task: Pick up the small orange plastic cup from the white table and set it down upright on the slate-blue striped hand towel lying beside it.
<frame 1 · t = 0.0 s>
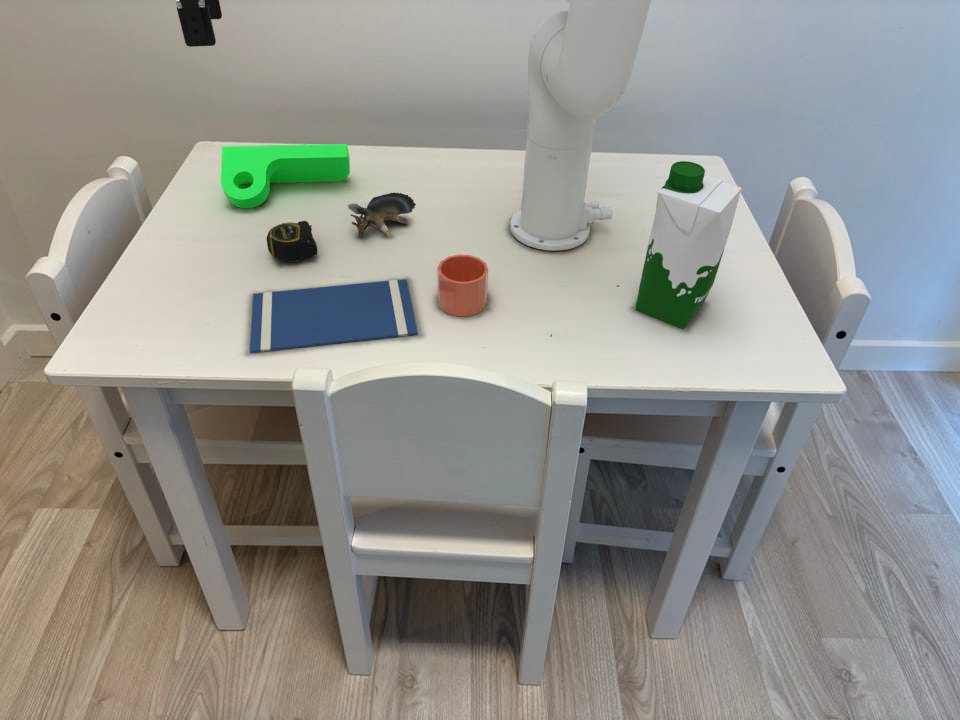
hand: (205, 31, 81), 31 cm above the table, tool pointing down, fingers open, 9 cm apart
orange plastic cup: (462, 301, 95), on the table
tape measure: (298, 253, 103), on the table
milk carton: (669, 308, 95), on the table
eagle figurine: (382, 231, 108), on the table
bracket: (291, 194, 115), on the table
towel: (333, 314, 92), on the table
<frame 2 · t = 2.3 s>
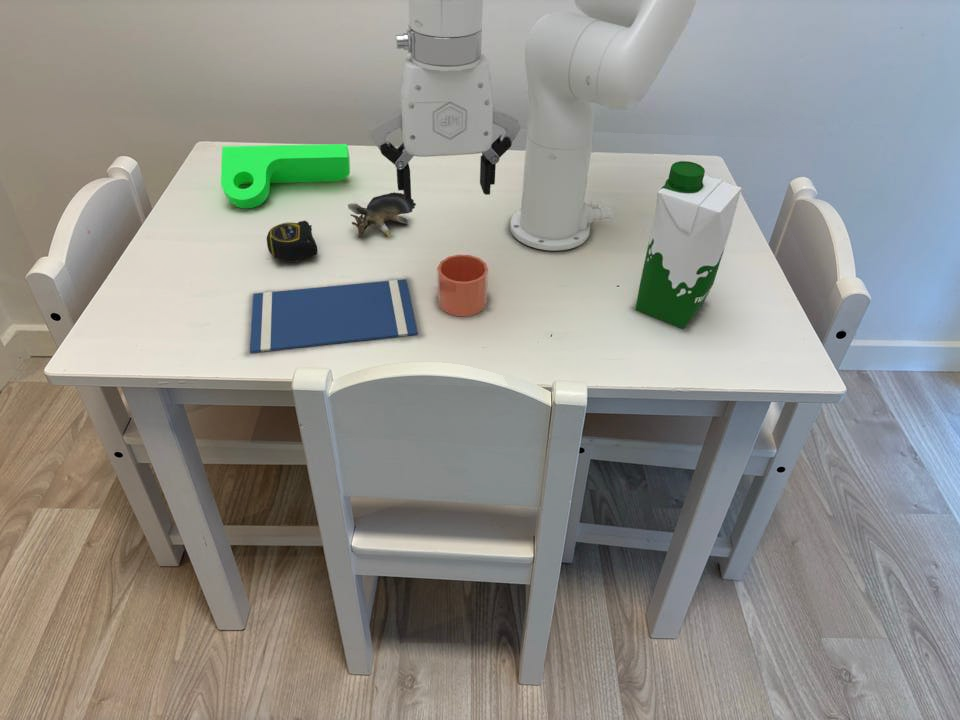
hand: (446, 191, 84), 16 cm above the table, tool pointing down, fingers open, 9 cm apart
nothing on the table moved.
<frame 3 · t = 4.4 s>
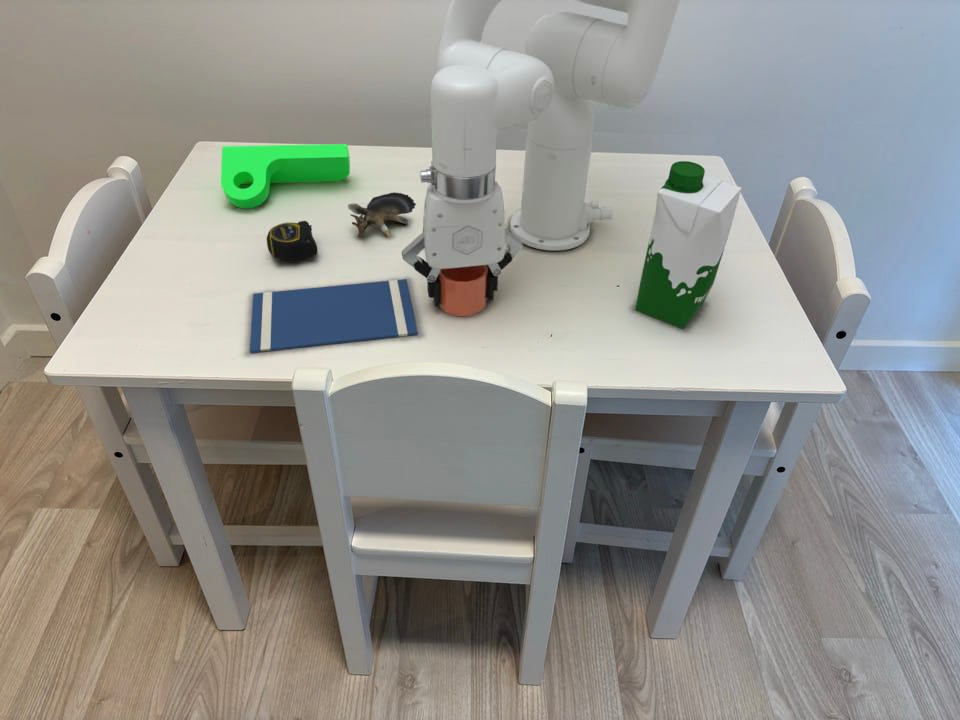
hand: (462, 296, 94), 1 cm above the table, tool pointing down, fingers closed on orange plastic cup, 6 cm apart
orange plastic cup: (462, 301, 95), on the table, touching gripper
everything else where it was.
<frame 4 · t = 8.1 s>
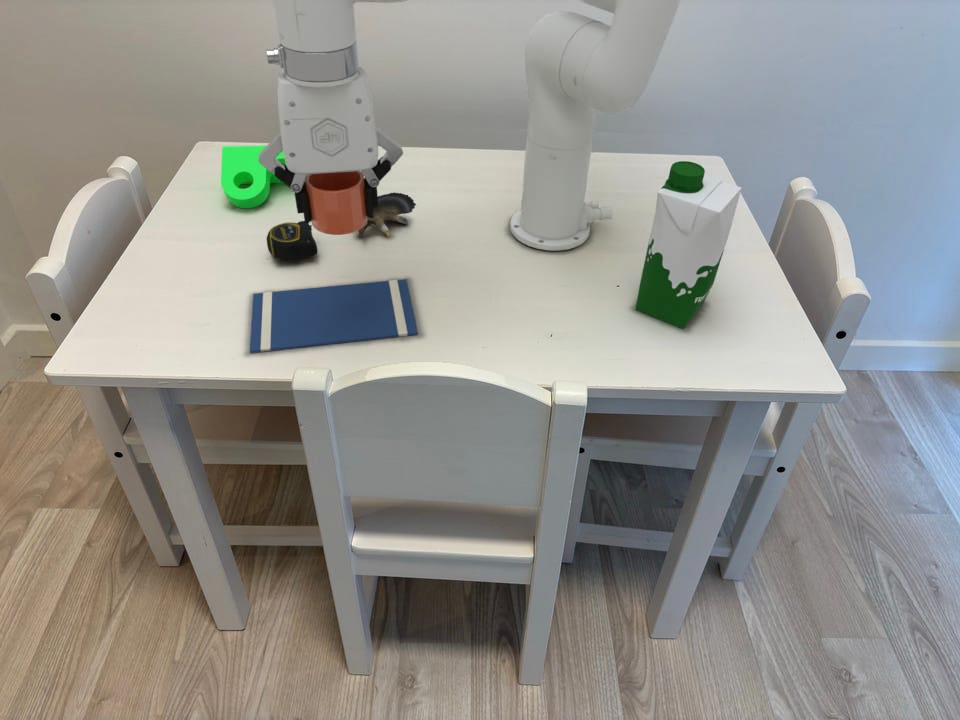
hand: (338, 213, 82), 15 cm above the table, tool pointing down, fingers closed on orange plastic cup, 6 cm apart
orange plastic cup: (339, 220, 82), point 14 cm above the table, touching gripper
everything else where it was.
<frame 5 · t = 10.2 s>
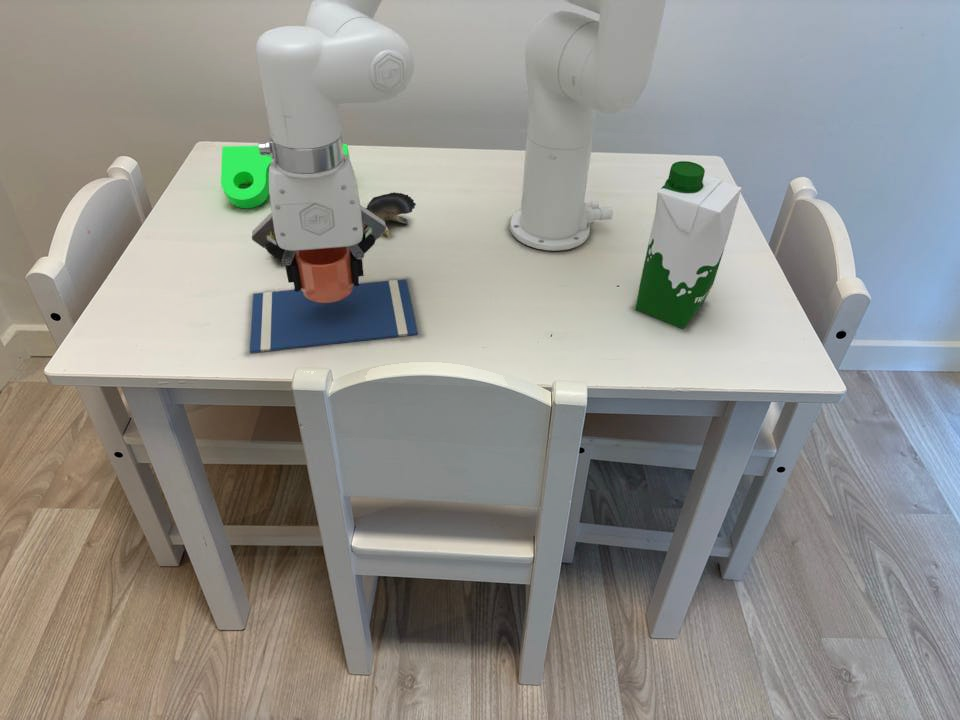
hand: (327, 281, 88), 6 cm above the table, tool pointing down, fingers closed on orange plastic cup, 6 cm apart
orange plastic cup: (327, 287, 89), point 5 cm above the table, touching gripper
everything else where it was.
when the fingers open (1 cm above the table, at t = 11.8 s): orange plastic cup stays where it is, resting on towel.
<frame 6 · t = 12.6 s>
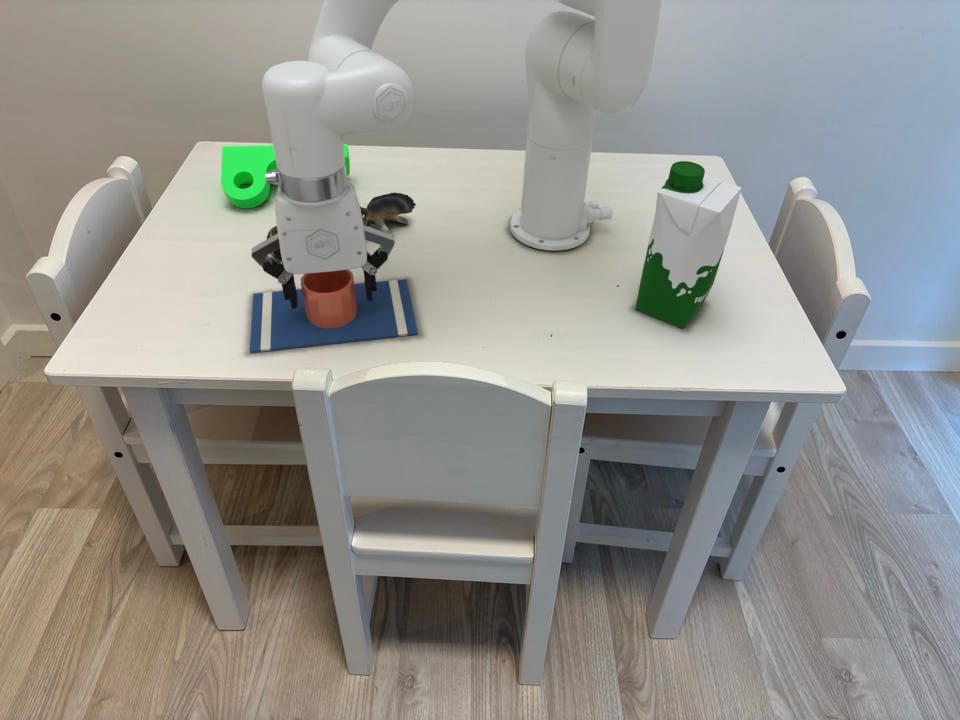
hand: (332, 298, 90), 3 cm above the table, tool pointing down, fingers open, 9 cm apart
orange plastic cup: (332, 312, 91), resting on towel
everything else where it was.
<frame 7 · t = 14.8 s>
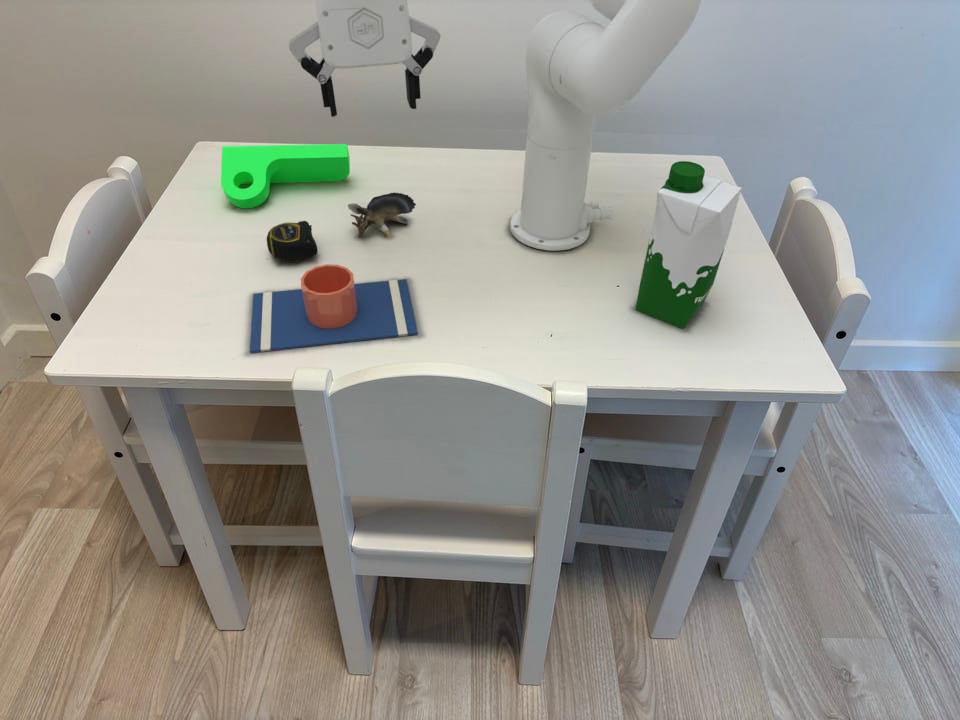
hand: (373, 108, 84), 23 cm above the table, tool pointing down, fingers open, 9 cm apart
nothing on the table moved.
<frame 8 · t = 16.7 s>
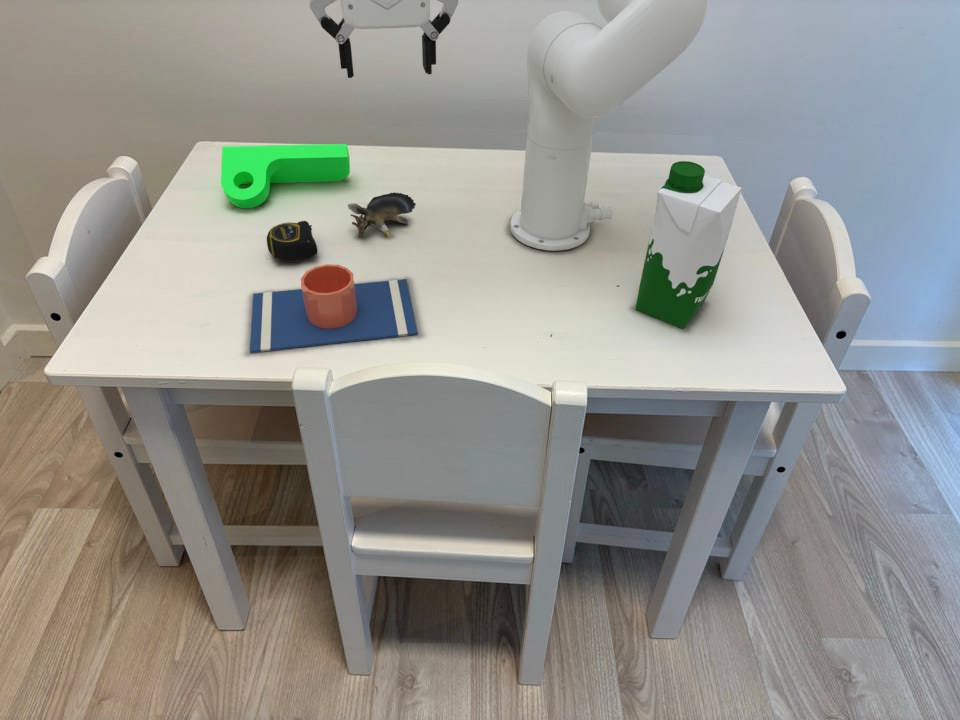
hand: (389, 72, 86), 26 cm above the table, tool pointing down, fingers open, 9 cm apart
nothing on the table moved.
at the end: orange plastic cup inside the target area on the towel (0.1 cm from its centre), point 0.4 cm above the towel's base; orange plastic cup tilted 0°; orange plastic cup touching towel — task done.
